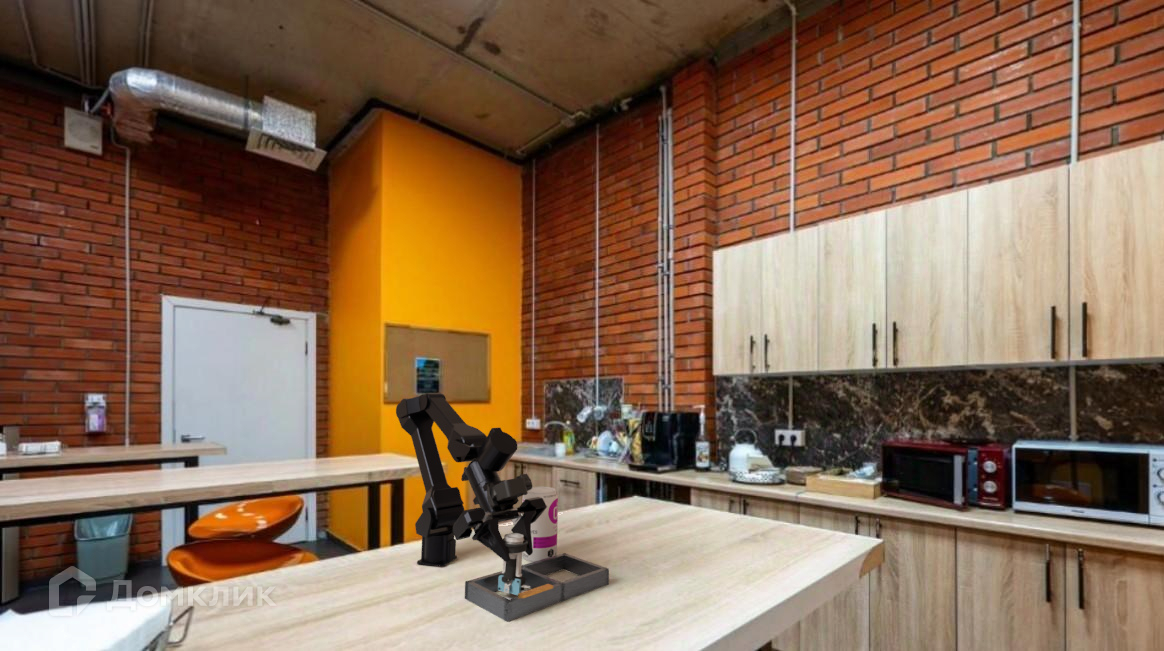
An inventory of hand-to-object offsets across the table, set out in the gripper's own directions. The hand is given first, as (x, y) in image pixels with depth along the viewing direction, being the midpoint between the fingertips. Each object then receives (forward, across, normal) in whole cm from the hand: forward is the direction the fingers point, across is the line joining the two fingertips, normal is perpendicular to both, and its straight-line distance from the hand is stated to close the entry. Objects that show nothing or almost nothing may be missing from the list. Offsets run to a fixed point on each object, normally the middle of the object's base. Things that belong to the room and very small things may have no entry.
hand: (519, 557), depth 101 cm
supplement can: (-6, +19, +18) cm, 26 cm away
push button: (+4, 0, +6) cm, 7 cm away
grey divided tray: (+5, +6, +6) cm, 10 cm away
